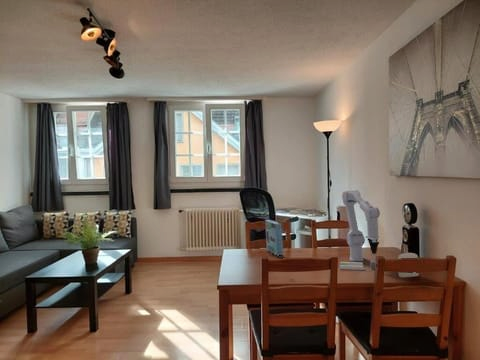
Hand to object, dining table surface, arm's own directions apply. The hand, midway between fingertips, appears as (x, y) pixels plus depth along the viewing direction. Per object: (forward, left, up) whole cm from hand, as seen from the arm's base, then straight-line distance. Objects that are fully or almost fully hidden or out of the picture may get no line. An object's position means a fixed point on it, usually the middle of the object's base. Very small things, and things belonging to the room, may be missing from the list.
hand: (373, 252), depth 194 cm
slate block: (0, 0, -10) cm, 10 cm away
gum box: (-28, -64, -10) cm, 71 cm away
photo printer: (+12, +16, -10) cm, 22 cm away
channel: (0, -13, -9) cm, 16 cm away
